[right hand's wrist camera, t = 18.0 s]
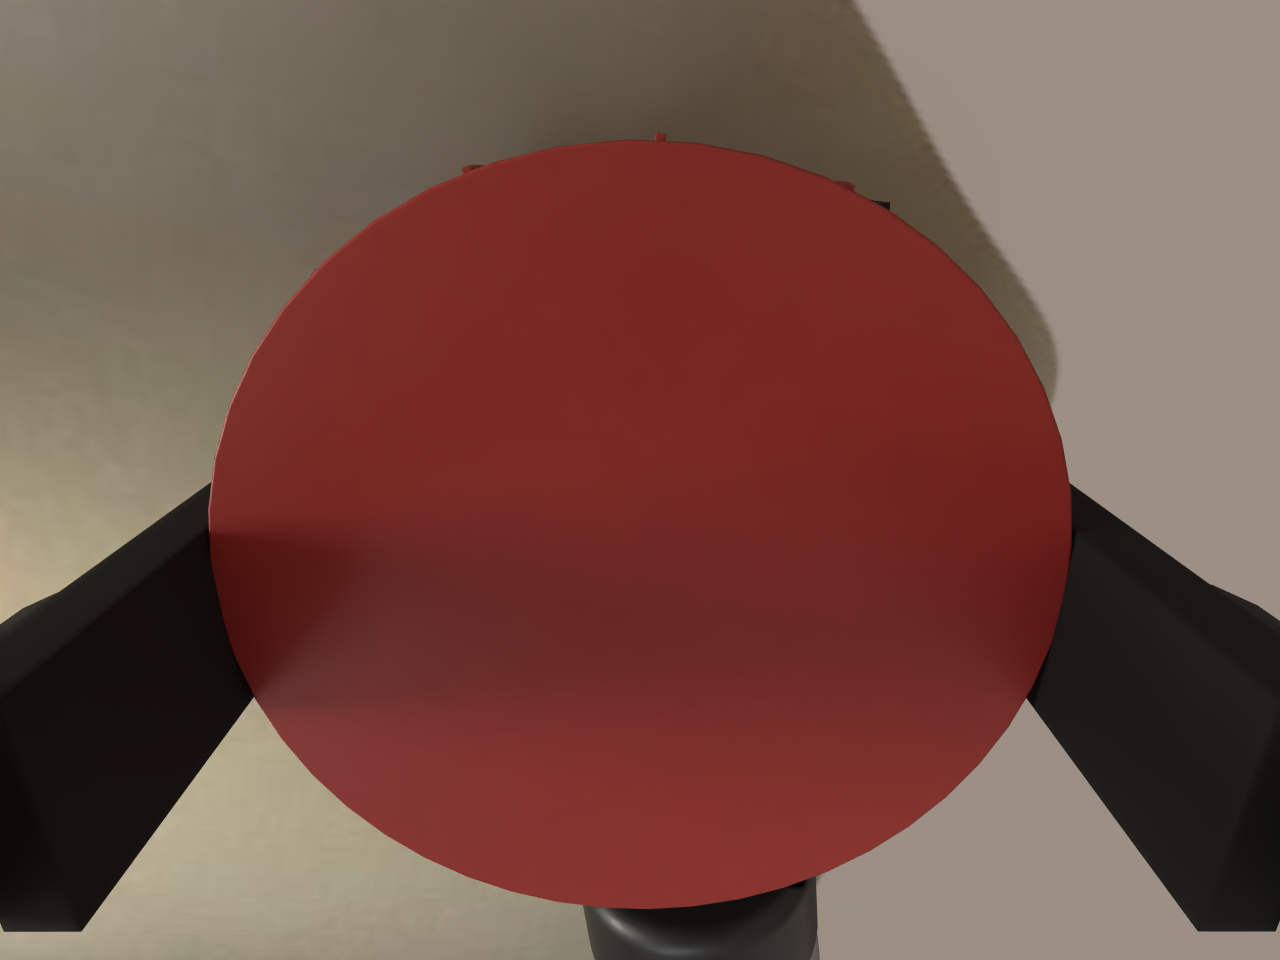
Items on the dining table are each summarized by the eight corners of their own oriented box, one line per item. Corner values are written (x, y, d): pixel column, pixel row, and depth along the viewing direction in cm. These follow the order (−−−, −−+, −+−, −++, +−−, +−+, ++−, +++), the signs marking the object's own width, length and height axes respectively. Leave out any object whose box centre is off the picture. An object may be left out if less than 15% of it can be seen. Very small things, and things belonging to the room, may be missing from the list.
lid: (1016, 74, 9) (1100, 54, 8) (1003, 777, 13) (1056, 868, 12) (157, 220, 10) (57, 231, 8) (387, 850, 14) (351, 944, 12)
